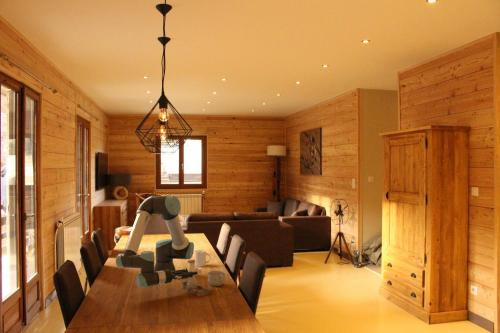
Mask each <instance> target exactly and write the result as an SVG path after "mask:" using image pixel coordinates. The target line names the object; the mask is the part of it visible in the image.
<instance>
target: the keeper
mask: <svg viewBox="0 0 500 333" xmlns="http://www.w3.org/2000/svg"><path fill="white" fill-rule="evenodd" d="M195 268H196V266H195V260H194V259H187V270H188V272H191V271H195ZM187 281H188V283H186V285H187V286H189V287H191V288H196V287H198V285H199V283H197V282H196V275H194V276H193V277H189V278H187Z"/></svg>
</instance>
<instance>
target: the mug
mask: <svg viewBox="0 0 500 333" xmlns="http://www.w3.org/2000/svg"><path fill="white" fill-rule="evenodd" d="M193 255H194V257H193V258H194V259H193V260H195V267H196V268H198V267H199V268H200V267H205V266H206V265H207V264H209V263H210V261H211V259H212V257H211V254H209V253H208V252H207V250H204V249H197V250H194V252H193ZM207 256H208V257H209V260H207Z"/></svg>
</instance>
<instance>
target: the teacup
mask: <svg viewBox="0 0 500 333" xmlns="http://www.w3.org/2000/svg"><path fill="white" fill-rule="evenodd" d="M207 281H208V283H209V285H211V286H212V287H213V286H214V287H220V286H222V285H224V283H225V281H226V271H223V270H211V271H208V272H207Z"/></svg>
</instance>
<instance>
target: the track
mask: <svg viewBox="0 0 500 333" xmlns="http://www.w3.org/2000/svg"><path fill="white" fill-rule="evenodd" d="M186 283H188V280H185V281H181V288H182V290H184V291H186V292H189V293H191V294H193V295H195V296H197V297H202V296H207V295H211V294H212V290H211V289H210V288H207V287H206V286H203V285H201V284H198V287H196V288H191V287H189V286H187V285H186Z"/></svg>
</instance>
